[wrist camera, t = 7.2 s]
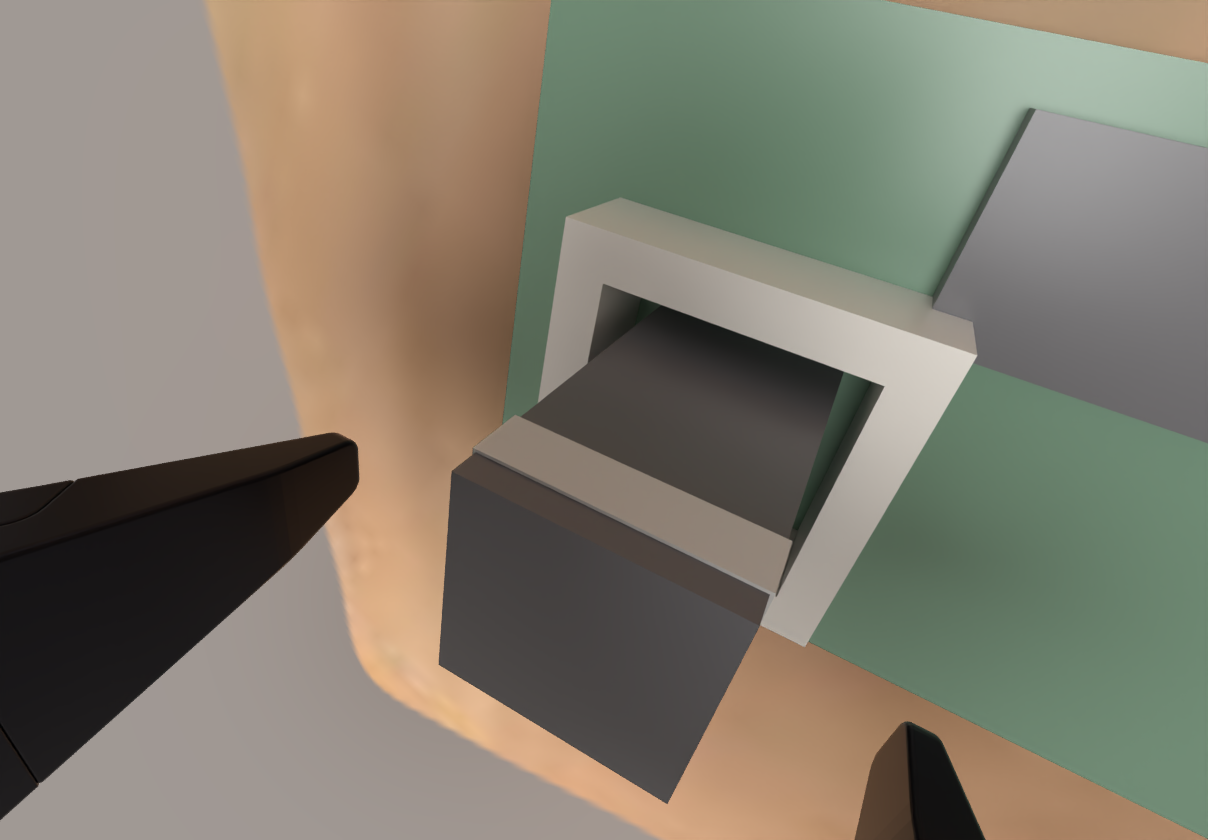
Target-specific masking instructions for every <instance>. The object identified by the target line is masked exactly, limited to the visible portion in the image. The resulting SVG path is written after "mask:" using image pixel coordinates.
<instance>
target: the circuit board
mask: <svg viewBox="0 0 1208 840" xmlns="http://www.w3.org/2000/svg"><path fill="white" fill-rule="evenodd" d="M661 305H663V306H666V307H669V308H671V309H674V310H677V311H680V312H682V313H685V314H688V315H691V316H693V317H696V318H699V319H702V320H704V321H707V322H710V323H713V324H715V325H718V326H721V327H724V328H726V329H729V330H732V331H734V332H737V333H740V334H743V335H745V336H748V337H751V338H754V339H756V340H759V341H762V342H765V343H767V344H770V345H773V346H776V347H778V348H781V349H784V350H787V351H789V352H792V353H795V354H798V355H800V356H803V357H806V358H809V359H811V360H814V361H817V362H820V363H822V364H825V365H828V366H830V367H833V368H836V369H839V370H841V371H844V373H843V376H842V379H841V382H840V385H839V388H838V391H837V394H836V397H835V400H834V403H833V406H832V409H831V412H830V415H829V418H828V421H827V425H826V428H825V431H824V434H823V437H822V440H821V443H820V446H819V449H818V452H817V455H816V458H815V461H814V464H813V467H812V470H811V473H810V476H809V479H808V482H807V485H806V488H805V491H804V494H803V497H802V500H801V503H800V506H799V509H798V512H797V515H796V518H795V521H794V524H793V527H792V530H791V533H790V536H789V540H792V541H793V542H792V545H791V548H790V551H789V554H788V558H787V561H786V564H785V567H784V570H783V573H782V576H781V579H780V582H779V586H778V589H777V592H776V595H775V596H774V598H773V600H772V602H771V604H770V606H769V608H768V610H767V612H766V614H765V616H764V618H763V620H762V622H761V624H760V625H761V626H763V627H765V628H767V629H769V630H771V631H773V632H775V633H777V634H779V635H781V636H783V637H785V638H787V639H789V640H791V641H793V642H795V643H797V644H799V645H801V646H803V647H805V646H806V644H807V643H808V642H810V643H812V644H814V645H816V646H818V647H820V648H822V649H824V650H826V651H828V652H830V653H832V654H834V655H836V656H839V657H841V658H843V659H845V660H847V661H849V662H851V663H853V664H855V665H857V666H859V667H861V668H863V669H865V670H867V671H869V672H871V673H873V674H875V675H877V676H879V677H881V678H883V679H885V680H887V681H889V682H891V683H893V684H895V685H897V686H899V687H901V688H903V689H905V690H907V691H909V692H911V693H913V694H915V695H917V696H919V697H922V698H924V699H926V700H928V701H930V702H932V703H934V704H936V705H938V706H940V707H942V708H944V709H946V710H948V711H950V712H952V713H954V714H956V715H958V716H960V717H962V718H964V719H966V720H968V721H970V722H972V723H974V724H976V725H978V726H980V727H982V728H984V729H986V730H988V731H990V732H992V733H994V734H996V735H998V736H1000V737H1002V738H1005V739H1007V740H1009V741H1011V742H1013V743H1015V744H1017V745H1019V746H1021V747H1023V748H1025V749H1027V750H1029V751H1031V752H1033V753H1035V754H1037V755H1039V756H1041V757H1043V758H1045V759H1047V760H1049V761H1051V762H1053V763H1055V764H1057V765H1059V766H1061V767H1063V768H1065V769H1067V770H1069V771H1071V772H1073V773H1075V774H1077V775H1079V776H1081V777H1083V778H1086V779H1088V780H1090V781H1092V782H1094V783H1096V784H1098V785H1100V786H1102V787H1104V788H1106V789H1108V790H1110V791H1112V792H1114V793H1116V794H1118V795H1120V796H1122V797H1124V798H1126V799H1128V800H1130V801H1132V802H1134V803H1136V804H1138V805H1140V806H1142V807H1144V808H1146V809H1148V810H1150V811H1152V812H1154V813H1156V814H1158V815H1160V816H1162V817H1164V818H1166V819H1169V820H1171V821H1173V822H1175V823H1177V824H1179V825H1181V826H1183V827H1185V828H1187V829H1189V830H1191V831H1193V832H1195V833H1197V834H1199V835H1201V836H1203V837H1205V838H1207V839H1208V63H1203V62H1198V61H1193V60H1188V59H1183V58H1178V57H1173V56H1167V55H1162V54H1157V53H1152V52H1147V51H1142V50H1137V49H1131V48H1126V47H1121V46H1116V45H1111V44H1106V43H1101V42H1095V41H1090V40H1085V39H1080V38H1075V37H1070V36H1065V35H1059V34H1054V33H1049V32H1044V31H1039V30H1034V29H1029V28H1023V27H1018V26H1013V25H1008V24H1003V23H998V22H993V21H987V20H982V19H977V18H972V17H967V16H962V15H957V14H951V13H946V12H941V11H936V10H931V9H926V8H921V7H915V6H910V5H905V4H900V3H895V2H890V1H885V0H551V7H550V16H549V24H548V33H547V42H546V50H545V59H544V68H543V76H542V85H541V94H540V102H539V111H538V120H537V128H536V137H535V146H534V154H533V163H532V172H531V180H530V189H529V198H528V206H527V215H526V224H525V232H524V241H523V250H522V258H521V267H520V276H519V284H518V293H517V302H516V310H515V319H514V328H513V336H512V345H511V354H510V362H509V371H508V380H507V388H506V397H505V406H504V414H503V423H502V425H503V424H504V423H505V422H507V421H508V420H509V419H510V418H512V417H513V416H514V415H517V416H519V417H521V416H522V415H523V414H525V413H526V412H527V411H528V410H530V409H531V408H532V407H533V406H535V405H536V404H537V403H538V402H540V401H541V400H542V399H544V398H545V397H546V396H547V395H549V394H550V393H551V392H552V391H554V390H555V389H556V388H557V387H559V386H560V385H561V384H562V383H564V382H565V381H566V380H567V379H569V378H570V377H571V376H572V375H574V374H575V373H576V372H578V371H579V370H580V369H581V368H583V367H584V366H585V365H586V364H588V363H589V362H590V361H591V360H593V359H594V358H595V357H596V356H598V355H599V354H600V353H601V352H603V351H604V350H605V349H606V348H608V347H609V346H610V345H612V344H613V343H614V342H615V341H617V340H618V339H619V338H620V337H622V336H623V335H624V334H625V333H627V332H628V331H629V330H630V329H632V328H633V327H634V326H635V325H637V324H638V323H639V322H640V321H642V320H643V319H644V318H645V317H647V316H648V315H649V314H651V313H652V312H653V311H654V310H656V309H657V308H658V307H659V306H661Z"/></svg>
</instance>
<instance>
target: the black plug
mask: <svg viewBox="0 0 1208 840" xmlns="http://www.w3.org/2000/svg"><path fill="white" fill-rule="evenodd" d="M843 373H844V371H841V370H839V369H836V368H833V367H830V366H828V365H825V364H822V363H820V362H817V361H814V360H811V359H809V358H806V357H803V356H800V355H798V354H795V353H792V352H789V351H787V350H784V349H781V348H778V347H776V346H773V345H770V344H767V343H765V342H762V341H759V340H756V339H754V338H751V337H748V336H745V335H743V334H740V333H737V332H734V331H732V330H729V329H726V328H724V327H721V326H718V325H715V324H713V323H710V322H707V321H704V320H702V319H699V318H696V317H693V316H691V315H688V314H685V313H682V312H680V311H677V310H674V309H671V308H669V307H666V306H663V305H661V306H659V307H658V308H657V309H656V310H654V311H653V312H652V313H651V314H649V315H648V316H647V317H645V318H644V319H643V320H642V321H640V322H639V323H638V324H637V325H635V326H634V327H633V328H632V329H630V330H629V331H628V332H627V333H625V334H624V335H623V336H622V337H620V338H619V339H618V340H617V341H615V342H614V343H613V344H612V345H610V346H609V347H608V348H606V349H605V350H604V351H603V352H601V353H600V354H599V355H598V356H596V357H595V358H594V359H593V360H591V361H590V362H589V363H588V364H586V365H585V366H584V367H583V368H581V369H580V370H579V371H578V372H576V373H575V374H574V375H572V376H571V377H570V378H569V379H567V380H566V381H565V382H564V383H562V384H561V385H560V386H559V387H557V388H556V389H555V390H554V391H552V392H551V393H550V394H549V395H547V396H546V397H545V398H544V399H542V400H541V401H540V402H538V403H537V404H536V405H535V406H533V407H532V408H531V409H530V410H528V411H527V412H526V413H525V414H523V415H522V416H521V417H519V416H517V415H514V416H513V417H512V418H510V419H509V420H508V421H507V422H505V423H504V424H503V425H501V426H500V427H499V428H498V429H496V430H495V431H494V432H492V433H491V434H490V435H489V436H487V437H486V438H485V439H483V440H482V441H481V442H480V443H478V444H477V445H476V446H474V447H473V454H472V456H470V457H469V458H468V459H467V460H465V461H464V462H463V463H462V464H460V465H459V466H458V467H457V468H455V469H454V470H453V471H452V475H451V490H450V505H449V519H448V534H447V549H446V564H445V578H444V593H443V608H442V623H441V637H440V652H439V665H440V666H442V667H443V668H445V669H447V670H448V671H450V672H452V673H453V674H455V675H457V676H458V677H460V678H461V679H463V680H465V681H466V682H468V683H470V684H471V685H473V686H475V687H476V688H478V689H480V690H481V691H483V692H484V693H486V694H488V695H489V696H491V697H493V698H494V699H496V700H498V701H499V702H501V703H502V704H504V705H506V706H507V707H509V708H511V709H512V710H514V711H516V712H517V713H519V714H520V715H522V716H524V717H525V718H527V719H529V720H530V721H532V722H534V723H535V724H537V725H539V726H540V727H542V728H543V729H545V730H547V731H548V732H550V733H552V734H553V735H555V736H557V737H558V738H560V739H561V740H563V741H565V742H566V743H568V744H570V745H571V746H573V747H575V748H576V749H578V750H579V751H581V752H583V753H584V754H586V755H588V756H589V757H591V758H593V759H594V760H596V761H598V762H599V763H601V764H602V765H604V766H606V767H607V768H609V769H611V770H612V771H614V772H616V773H617V774H619V775H620V776H622V777H624V778H625V779H627V780H629V781H630V782H632V783H634V784H635V785H637V786H638V787H640V788H642V789H643V790H645V791H647V792H648V793H650V794H652V795H653V796H655V797H657V798H658V799H660V800H661V801H663V802H665V803H666V804H668V802H669V800H670V798H671V796H672V794H673V792H674V790H675V788H676V786H677V784H678V782H679V781H680V779H681V777H682V775H683V773H684V771H685V769H686V767H687V765H688V763H689V761H690V759H691V757H692V755H693V754H694V752H695V750H696V748H697V746H698V744H699V742H700V740H701V738H702V736H703V734H704V732H705V730H706V728H707V727H708V725H709V723H710V721H711V719H712V717H713V715H714V713H715V711H716V709H717V707H718V705H719V703H720V701H721V700H722V698H723V696H724V694H725V692H726V690H727V688H728V686H729V684H730V682H731V680H732V678H733V676H734V674H735V673H736V671H737V669H738V667H739V665H740V663H741V661H742V659H743V657H744V655H745V653H746V651H747V649H748V647H749V646H750V644H751V642H752V640H753V638H754V636H755V634H756V632H757V630H758V628H759V626H760V624H761V622H762V620H763V618H764V616H765V614H766V612H767V610H768V608H769V606H770V604H771V602H772V600H773V598H774V596H775V595H776V592H777V589H778V586H779V582H780V579H781V576H782V573H783V570H784V567H785V564H786V561H787V558H788V554H789V551H790V548H791V545H792V542H793V541H792V540H789V536H790V533H791V530H792V527H793V524H794V521H795V518H796V515H797V512H798V509H799V506H800V503H801V500H802V497H803V494H804V491H805V488H806V485H807V482H808V479H809V476H810V473H811V470H812V467H813V464H814V461H815V458H816V455H817V452H818V449H819V446H820V443H821V440H822V437H823V434H824V431H825V428H826V425H827V421H828V418H829V415H830V412H831V409H832V406H833V403H834V400H835V397H836V394H837V391H838V388H839V385H840V382H841V379H842V376H843Z"/></svg>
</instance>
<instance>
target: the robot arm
mask: <svg viewBox="0 0 1208 840" xmlns="http://www.w3.org/2000/svg"><path fill="white" fill-rule="evenodd" d="M358 482H359V461H358V447H357V445H356V443H355V442H354V441H353V440H351V439H349V438H347V437H345V436H343V435H341V434H338V433H326V434H321V435H315V436H310V437H304V438H299V439H293V440H288V441H283V442H277V443H272V444H266V445H261V446H255V447H250V448H245V449H239V450H233V451H228V452H222V453H217V454H211V455H206V456H201V457H195V458H190V459H184V460H179V461H173V462H168V463H162V464H157V465H151V466H146V467H140V468H135V469H129V470H124V471H118V472H113V473H108V474H102V475H96V476H91V477H86V478H80V479H77V480H76V481H71V480H69V481H63V482H58V483H52V484H47V485H42V486H36V487H30V488H24V489H18V490H12V491H6V492H1V493H0V820H1V819H2V818H3V817H4V816H5V815H7V814H8V813H9V812H10V811H11V810H12V809H13V808H14V807H16V806H17V805H18V804H19V803H20V802H21V801H22V800H23V799H24V798H25V797H27V796H28V795H29V794H30V793H31V792H32V791H33V790H35V788H37V787H38V785H39V783H41V782H43V781H44V780H45V779H46V778H47V777H49V776H50V775H51V774H52V773H53V772H54V771H55V770H56V769H58V768H59V767H60V766H61V765H62V764H63V763H64V762H65V761H66V760H68V759H69V758H70V757H71V756H72V755H73V754H74V753H75V752H77V751H78V750H79V749H80V748H81V747H82V746H83V745H84V744H86V743H87V742H88V740H90V739H91V738H92V737H93V736H94V735H96V734H97V733H98V732H99V731H100V730H101V729H102V728H103V727H105V725H107V724H108V723H109V722H110V721H111V720H112V719H113V718H115V717H116V716H117V715H118V714H119V713H120V712H121V711H122V710H123V709H124V708H126V707H127V706H128V705H129V704H130V703H131V702H133V701H134V700H135V699H136V698H137V697H138V696H139V695H140V694H142V693H143V692H144V691H145V690H146V689H147V688H148V687H149V686H150V685H152V684H153V683H154V682H155V681H156V680H157V679H158V678H159V677H161V676H162V675H163V674H164V673H165V672H166V671H167V670H168V669H169V668H170V667H172V666H173V665H174V664H175V663H176V662H177V661H178V660H179V659H181V658H182V657H183V656H184V655H185V654H186V653H187V652H188V651H190V650H191V649H192V648H193V647H194V646H195V645H196V644H197V643H199V642H200V641H201V640H202V639H203V638H204V637H205V636H206V635H208V634H209V633H210V632H211V631H212V630H213V629H214V628H215V627H216V626H217V625H219V624H220V623H221V622H222V621H223V620H224V619H225V618H227V617H228V616H229V615H230V614H231V613H232V612H233V611H234V610H236V608H238V607H239V606H240V605H241V604H242V603H243V602H244V601H246V600H247V599H248V598H249V597H250V596H251V595H252V594H253V593H255V592H256V591H257V590H258V589H259V588H260V587H261V586H262V585H263V584H265V583H266V582H267V581H268V580H269V579H270V578H271V577H272V576H274V575H275V574H276V573H277V572H278V571H279V570H280V569H281V568H282V567H284V566H285V564H286V563H288V562H289V561H290V560H291V559H292V558H293V557H294V556H295V555H296V554H297V553H298V552H299V551H300V550H301V549H302V548H303V547H304V546H305V545H306V543H307V542H308V541H309V540H310V539H311V538H312V537H313V536H314V535H315V534H316V533H317V532H318V530H319V529H320V528H321V527H322V526H323V525H324V524H325V523H326V522H327V521H328V520H329V519H330V517H331V516H332V515H333V514H334V513H335V512H336V511H337V510H338V509H339V508H340V507H341V506H342V504H343V503H344V502H345V501H346V500H347V499H348V498H349V497H350V496H351V495H352V494H353V492H354V491H355V489H356V488H357V485H358ZM855 840H985V838H984V835H983V833H982V831H981V829H980V826H979V824H978V822H977V820H976V817H975V815H974V813H973V810H972V808H971V806H970V804H969V801H968V799H967V797H966V795H965V792H964V790H963V788H962V786H961V783H960V781H959V779H958V777H957V774H956V772H955V770H954V768H953V765H952V763H951V761H950V759H949V756H948V754H947V752H946V750H945V747H944V745H943V743H942V741H941V740H940V739H939V737H938V736H936V735H935V734H933V733H931V732H929V731H927V730H925V729H924V728H922V727H920V726H918V725H916V724H914V723H912V722H908V721H907V722H903V723H902V724H900V725H899V727H898V728H897V729H896V730H895V731H894V733H893V734H892V735H891V736H890V737H889V739H888V740H887V741H886V742H885V744H884V745H883V746H882V747H881V748H880V750H879V751H878V752H877V754H876V756H875V758H874V760H873V762H872V765H871V769H870V773H869V777H868V782H867V786H866V791H865V795H864V800H863V804H862V809H861V813H860V818H859V822H858V827H857V831H856V836H855Z"/></svg>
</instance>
